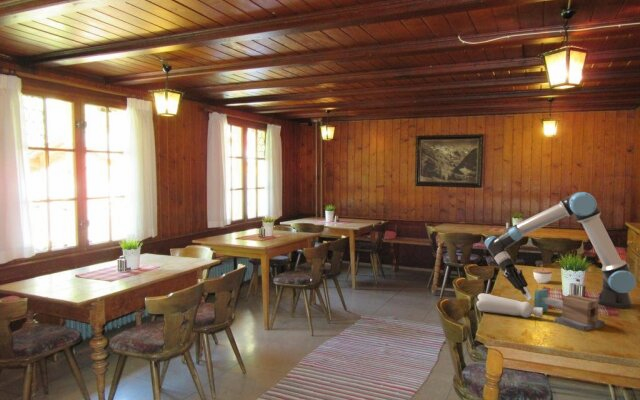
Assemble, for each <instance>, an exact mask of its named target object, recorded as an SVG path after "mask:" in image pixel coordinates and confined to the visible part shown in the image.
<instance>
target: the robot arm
mask: <svg viewBox="0 0 640 400" xmlns="http://www.w3.org/2000/svg"><path fill="white" fill-rule="evenodd" d="M601 214H602V212H601V210H600V209H599V206H598V204H597V200H596V198H595V197H594V196H593V195H592V194H591V193H588V192H586V191H576V192H573V193H571V194H570V195H569V196H567V197H565V198H563V199H562V200H559V203H558V204H555V205H554V206H551V207H550V208H547V209H546V210H545V209H544V210H543V211H541V212H539V213H537V214H535V215H533V216H531V217H529V218H527V219H524V220H522V221H520V222H518V223H516V224H514V225H512V226H509V227H507V228H505V230H504V231H503V233H501V234H499V236H495V235H492V236H491V235H490V236H489V237H488V238H486V239H485V240H484V246H485V247H486V249H487V251H488V252H489V253H490V255H491V256H492V257H493V259H494V260H495V262H496V263H497V265H498V266H499V269H501V271H503V272H504V273H503V274H502V276H503V277H504V278H505V279H507V280H508V282H510V284H511V285H512V287H514V289H516V290H517V291H520V292H521V293H522V295H524V297H525V299H526V301H527V302H529V301H531V300H532V299H533V298H534V296H533V295H532V294H531V293H530V290H529V289H528V285H529V284H528V282H527V280H526V278H525V276H524V274H523V270H521V269H520V270H519V269H518V268H517V267H516V266H515V261H513V259H512V258H511V255H510V254H509V253H508V252H507V251H506V249H508V248H509V247H510V246H512V245H514V244H515V243H517V242H519V241H521V239H523V237H524V236H527V235H528V234H530V233H532V232H534V231H537V230H539V229H542V228H543V227H546V226H547V225H550V224H552V223H555V222H556V221H558V220H561V219H562V218H565V217H566V216H567V217H571V216H574V218H575V220H576V222H578V223H581V224H582V227H583V229H584V231H585V232H586V235H587V237H588V238H589V241H590V242H591V244H592V247H593V248H594V250H595V253H596V255H597V256H598V259H599V261H600V262H601V265H602V268H601V272H602V289H601V292H600V293H599V295H598V298H597V300H598V305H601V306H605V307H608V308H615V309H630V308H632V300H631V296H630V294H629V293H630V292H631V291H633V290H634V289H635V287H636V285H637V279H636V277H635V275H634V274H633V273H632V271H631V269H630V264H629V263H628V262H627V261H625V260H622V259H621V257H620V255H619V253H618V251H617V249H616V247H615V245H614V243H613V241H612V239H611V238H610V236H609V234H608V231H607V230H606V228H605V225H604V223H603V221H602V220H601V218H600V215H601Z"/></svg>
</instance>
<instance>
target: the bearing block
mask: <svg viewBox="0 0 640 400" xmlns="http://www.w3.org/2000/svg"><path fill="white" fill-rule="evenodd" d="M562 301H563V308H561V309H562V311H561V316H557V317H555V318H554V323H556V324H559V325H563V326H565V327H569V328H572V329H575V330H579V331H582V332H586V331H590V330H593V329H596V328H601V327H604V326H605V320H601V319H598V318H599V317H598V316H599V312H598V311H599V303H598V299H593V298H590V297H584V296H581V295H576V294H570V295H564V296H562Z"/></svg>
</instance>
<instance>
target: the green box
mask: <svg viewBox="0 0 640 400" xmlns="http://www.w3.org/2000/svg"><path fill="white" fill-rule="evenodd" d="M549 306H552V307H555V308H559V309H562V308H563V299H559V298H555V297H550V296H549V288H541V289H537V290H534V305H533V308H535V307H540V308H543V313H545V312H548V311H549Z"/></svg>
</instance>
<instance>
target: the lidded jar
mask: <svg viewBox="0 0 640 400" xmlns="http://www.w3.org/2000/svg"><path fill="white" fill-rule="evenodd" d="M532 271H533V272H532V273H533V274H532V275H533V278H534V280H535V282H537V283H539V284H547V283H549V282H550V281H551V278H552V272H553V271H552V270H550V269H546V268H544V267H541V268H534V269H533V270H532Z"/></svg>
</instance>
